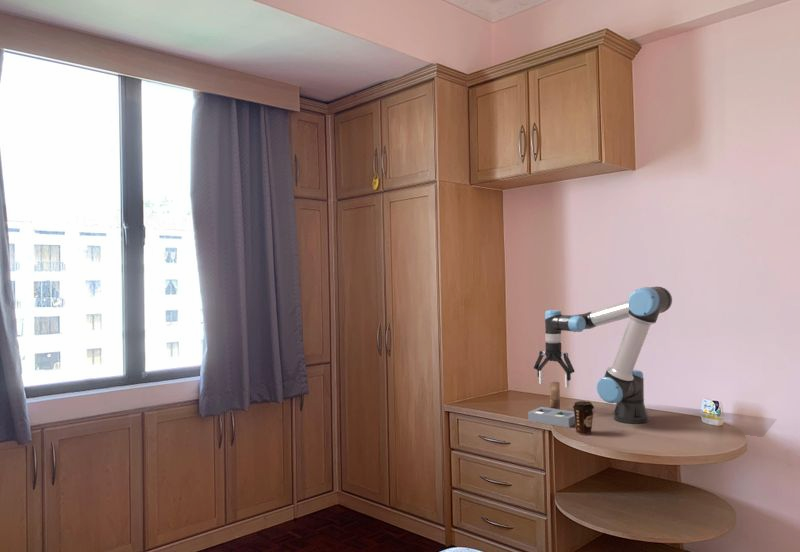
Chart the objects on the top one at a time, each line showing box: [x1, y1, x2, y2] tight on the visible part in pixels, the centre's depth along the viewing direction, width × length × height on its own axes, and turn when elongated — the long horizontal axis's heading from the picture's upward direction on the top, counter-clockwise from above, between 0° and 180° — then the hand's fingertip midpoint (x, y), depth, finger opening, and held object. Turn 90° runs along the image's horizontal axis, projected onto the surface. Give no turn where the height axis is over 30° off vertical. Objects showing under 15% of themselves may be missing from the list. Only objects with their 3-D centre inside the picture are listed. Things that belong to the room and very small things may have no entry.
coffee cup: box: [572, 400, 595, 436], centre depth 246 cm, size 9×8×13 cm
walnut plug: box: [549, 381, 561, 410], centre depth 281 cm, size 5×5×15 cm
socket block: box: [527, 406, 576, 428], centre depth 267 cm, size 13×20×4 cm, turn 49°
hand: (553, 385), depth 281 cm, fingers open, 13 cm apart
